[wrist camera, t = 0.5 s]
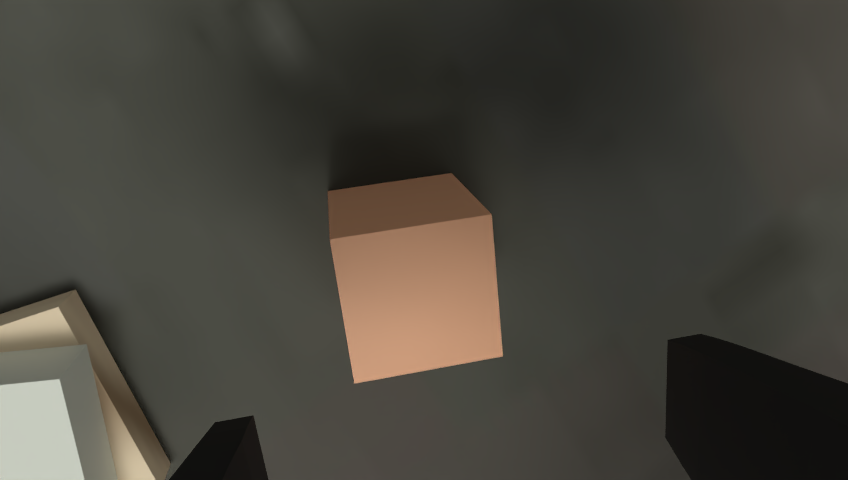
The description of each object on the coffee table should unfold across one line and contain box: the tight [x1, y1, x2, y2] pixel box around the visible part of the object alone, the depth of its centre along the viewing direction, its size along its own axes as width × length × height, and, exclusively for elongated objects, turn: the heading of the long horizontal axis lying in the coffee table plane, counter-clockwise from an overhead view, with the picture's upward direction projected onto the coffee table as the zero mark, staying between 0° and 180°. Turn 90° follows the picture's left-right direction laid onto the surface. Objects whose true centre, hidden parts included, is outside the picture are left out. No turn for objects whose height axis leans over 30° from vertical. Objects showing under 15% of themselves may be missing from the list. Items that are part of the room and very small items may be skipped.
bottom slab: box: [0, 290, 171, 480], centre depth 20 cm, size 7×7×2 cm
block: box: [328, 173, 503, 383], centre depth 18 cm, size 4×4×5 cm
